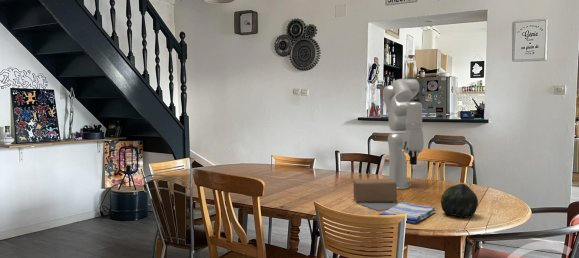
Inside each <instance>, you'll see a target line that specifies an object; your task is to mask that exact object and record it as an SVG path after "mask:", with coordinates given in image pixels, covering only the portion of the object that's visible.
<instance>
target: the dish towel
mask: <svg viewBox="0 0 579 258" xmlns="http://www.w3.org/2000/svg"><path fill="white" fill-rule="evenodd" d="M436 211H437V210H436V208H435V207H434V206H427V205H421V204H414V203H410V202H405V201H404V202H403V201H402V202H398V204H397V205H396V206H394V207H392V208H390V209H389V210H384V211H383V212H381V213H379V214H378V216H379V215H396V214H403V213H407V222H406V223H408V224H414V225H416V224H417V223H419V222H420V221H422V220H424V219H426V218H429V217H430V216H431V215H433V214H434V213H436Z"/></svg>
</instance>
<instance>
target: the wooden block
mask: <svg viewBox="0 0 579 258" xmlns="http://www.w3.org/2000/svg"><path fill="white" fill-rule="evenodd" d="M352 183H353V198H354V201H355V202H356V203H362V202H395V203H397V200H398V195H397V194H398V193H397V192H398V191H397V190H398V189H397V183H396V182H395V181H394V180H392V179H389V178H377V179H375V178H373V179H372V178H370V179H367V178H365V179H364V178H363V179H354V180H353V182H352Z"/></svg>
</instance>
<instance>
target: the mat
mask: <svg viewBox="0 0 579 258" xmlns="http://www.w3.org/2000/svg"><path fill="white" fill-rule="evenodd" d="M356 204H357V205H360V206H362V207H366V208H367V209H371V210H374V211H376V212H382V211H386V210H389V209H390V208H392V207H394V206H396V205H397V204H399V202H356Z"/></svg>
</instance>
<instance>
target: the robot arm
mask: <svg viewBox="0 0 579 258" xmlns="http://www.w3.org/2000/svg"><path fill="white" fill-rule="evenodd" d="M419 92H420V83H419V81H418V80H417V79H415V78H398V79H396V80H394V81H393V83H392V84H391V85H387V86H384V88H383V91H382V94H383V95H382V98H383V102H384V104H385V106H386V109H387V115H388V127H389V129H390V131H391V133H390V134H389V135H388V136H387V143H388V150H389V151H388V154H389V156H388V157H389V160H388V161H389V163H388V164H389V165H388V169H389V171H388V179H392V180H394V181H395V182H396V183H397V190H406V189H409V184H412V183H413V180H412V179H407V155H406V154H408V157H409V164H410V165H413V166H417V164H418V163H417V161H418V157H419V154H420V153H423V149H424V145H425V144H424V140H425V139H424V132H423V126H424V125H423V104H422V103H421V102H419V101H411V100H412V99H414V98H415V97H416V95H418V93H419ZM392 131H393V132H392ZM403 150H404V151H403Z"/></svg>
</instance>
